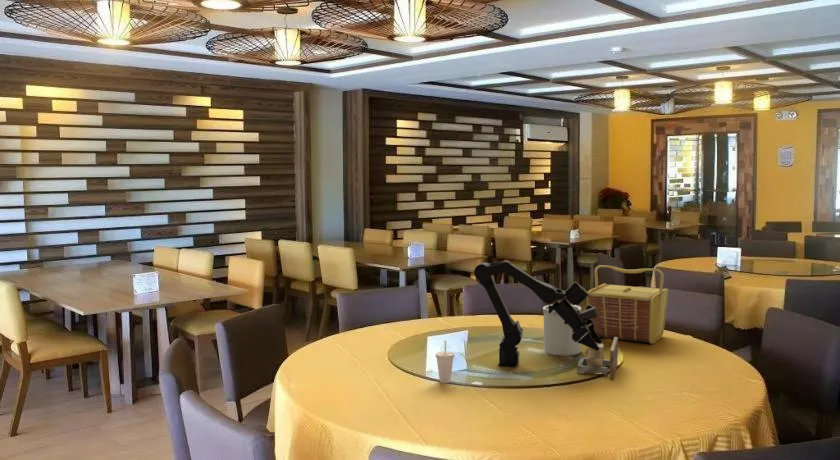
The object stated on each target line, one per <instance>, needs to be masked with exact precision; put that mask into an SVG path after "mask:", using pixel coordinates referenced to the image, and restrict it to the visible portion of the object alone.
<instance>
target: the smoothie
mask: <svg viewBox="0 0 840 460" xmlns="http://www.w3.org/2000/svg"><path fill="white" fill-rule="evenodd" d="M435 358H436V363H437V364H436V365H437V371H438V378H439V379H438V380H439V383H441V384H450V383H451V380H452V372H453V364H454V358H455V353H454V352H452V351H447V340H444V350H443V351H438V352H436V353H435Z"/></svg>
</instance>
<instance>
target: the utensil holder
mask: <svg viewBox="0 0 840 460" xmlns="http://www.w3.org/2000/svg"><path fill="white" fill-rule="evenodd" d="M553 304H554V303H551V305H553ZM549 305H550V304H547V305H544V306H543V307H542V311H543V341H544V343H543V344H544V352H545V353H546V354H549V355H553V356H562V357H563V356H564V357H565V356H566V357H567V356H575V355H578V354H580V353H581V344H580V343H577V342H578V341H577V342H575V341H574V340H573V339H572V334H573V332H572V329H571V328H570V327H569V326H568V324H565V323H564V322H565V321H564V320H563V319H562V318H561V317H560V316H559V315H558V314H557V313H556V312H555V311H554V310H553V311H552V312H551V313H548V312H549V307H548V306H549ZM570 305H571V306H572V307H573V308H574V309H575V310H579V311H580V312H582V307H581V306H580V305H572V304H570Z"/></svg>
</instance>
